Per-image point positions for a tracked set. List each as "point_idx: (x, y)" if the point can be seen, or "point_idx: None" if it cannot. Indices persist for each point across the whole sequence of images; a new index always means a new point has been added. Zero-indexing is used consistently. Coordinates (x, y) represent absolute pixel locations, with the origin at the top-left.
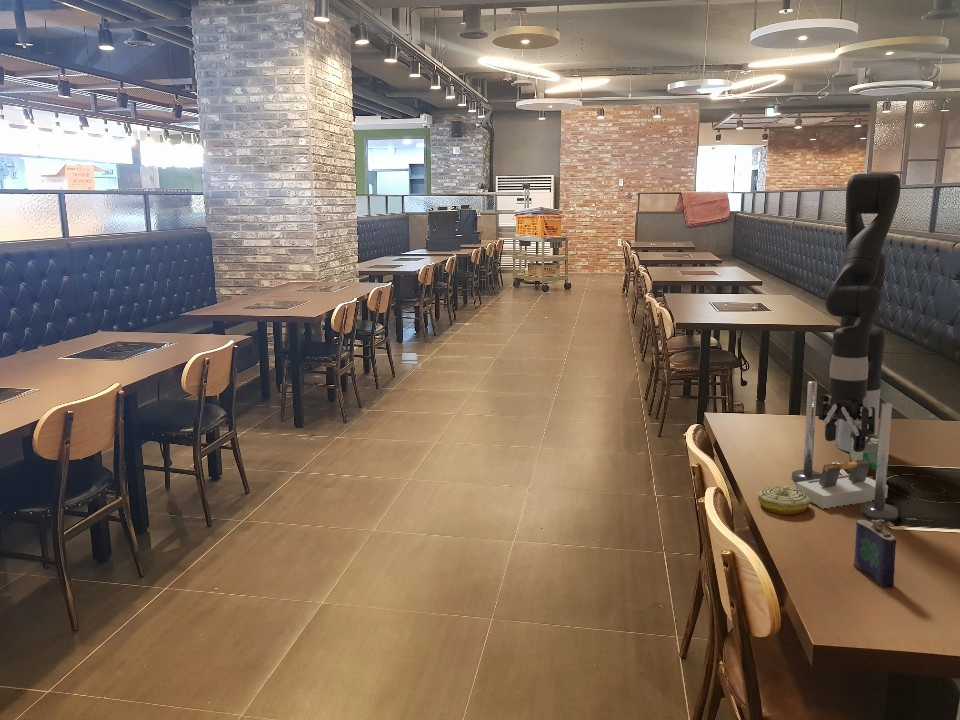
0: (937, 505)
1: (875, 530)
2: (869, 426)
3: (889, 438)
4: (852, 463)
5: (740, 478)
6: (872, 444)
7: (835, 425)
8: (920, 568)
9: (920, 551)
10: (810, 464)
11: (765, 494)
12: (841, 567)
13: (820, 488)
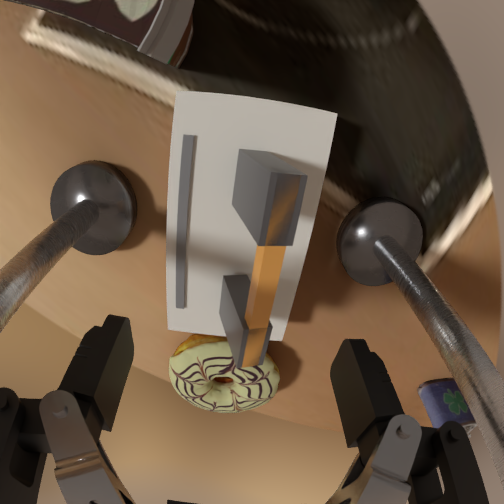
0: (422, 52)
1: None
2: (445, 469)
3: None
4: (273, 269)
5: (57, 323)
6: (164, 2)
7: (97, 398)
8: (476, 336)
9: (472, 302)
10: (79, 232)
11: (213, 410)
12: (407, 400)
13: None
